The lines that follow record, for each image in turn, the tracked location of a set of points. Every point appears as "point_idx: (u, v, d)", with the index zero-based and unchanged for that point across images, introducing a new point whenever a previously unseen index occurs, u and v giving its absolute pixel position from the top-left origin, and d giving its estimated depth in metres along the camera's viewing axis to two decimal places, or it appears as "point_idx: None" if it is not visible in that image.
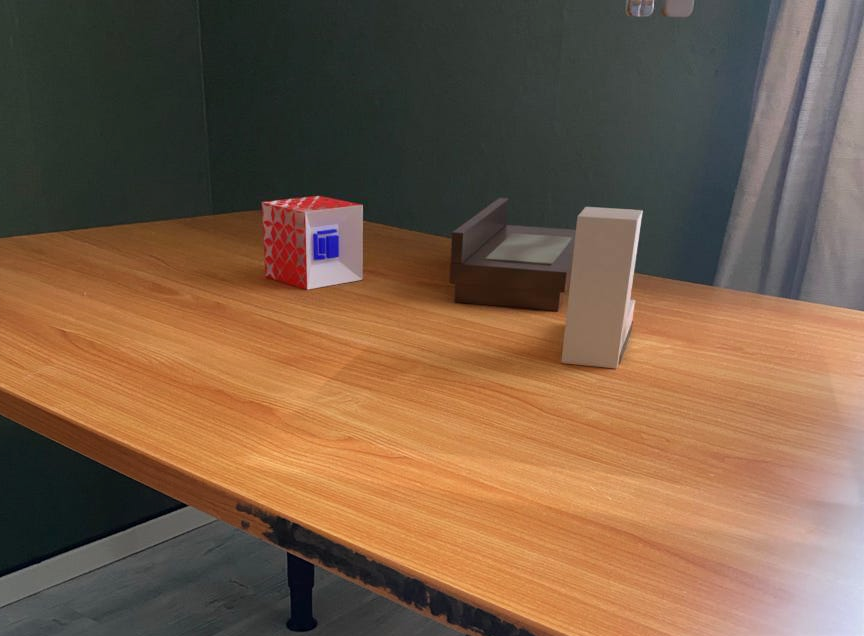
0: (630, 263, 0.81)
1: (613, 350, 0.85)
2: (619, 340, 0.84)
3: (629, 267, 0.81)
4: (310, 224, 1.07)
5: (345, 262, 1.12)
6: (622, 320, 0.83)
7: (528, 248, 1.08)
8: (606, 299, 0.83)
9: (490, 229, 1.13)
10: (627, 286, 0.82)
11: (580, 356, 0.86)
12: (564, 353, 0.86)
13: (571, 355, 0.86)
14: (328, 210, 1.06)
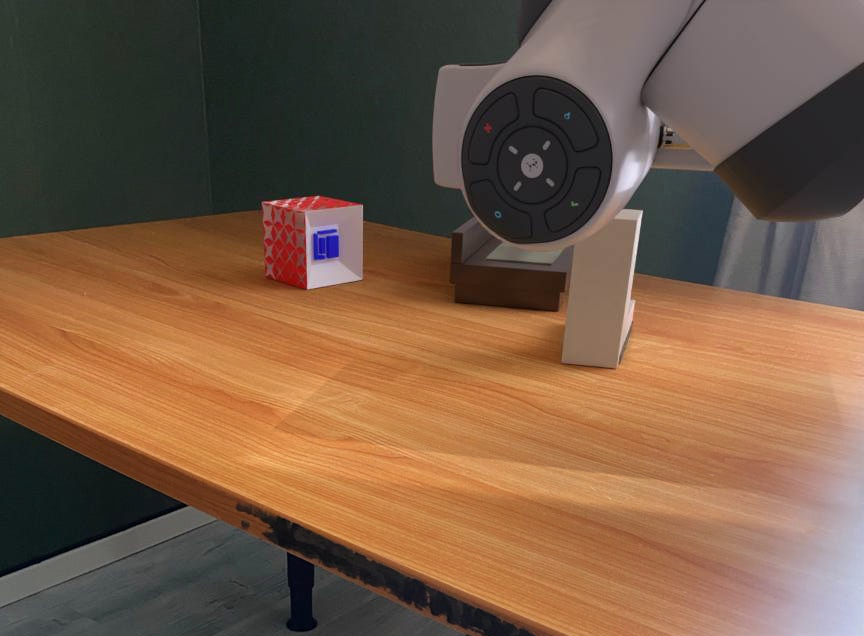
0: (630, 263, 0.81)
1: (613, 350, 0.85)
2: (619, 340, 0.84)
3: (629, 267, 0.81)
4: (310, 224, 1.07)
5: (346, 262, 1.12)
6: (622, 320, 0.83)
7: None
8: (606, 299, 0.83)
9: None
10: (627, 286, 0.82)
11: (580, 356, 0.86)
12: (564, 353, 0.86)
13: (571, 355, 0.86)
14: (328, 210, 1.06)
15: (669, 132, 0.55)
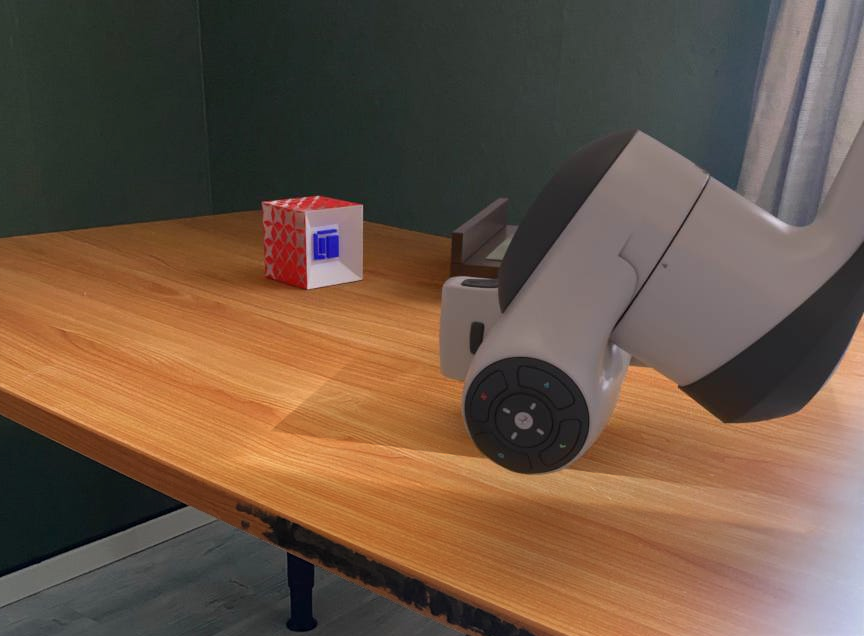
0: None
1: None
2: None
3: None
4: (310, 224, 1.07)
5: (346, 261, 1.12)
6: None
7: None
8: None
9: (490, 229, 1.13)
10: None
11: None
12: None
13: None
14: (328, 210, 1.06)
15: None
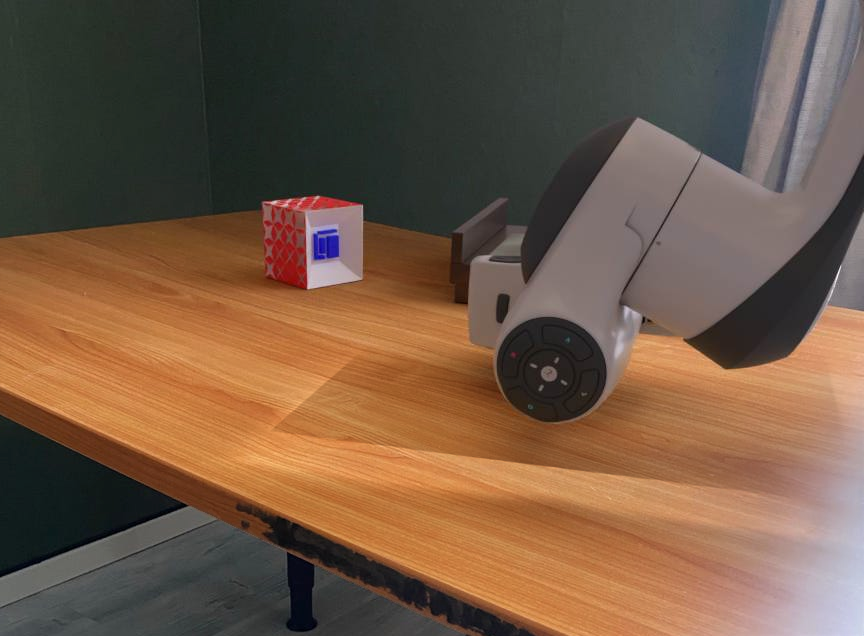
0: None
1: None
2: None
3: None
4: (310, 224, 1.07)
5: (346, 261, 1.12)
6: None
7: None
8: None
9: (490, 229, 1.13)
10: None
11: None
12: None
13: None
14: (328, 210, 1.06)
15: None
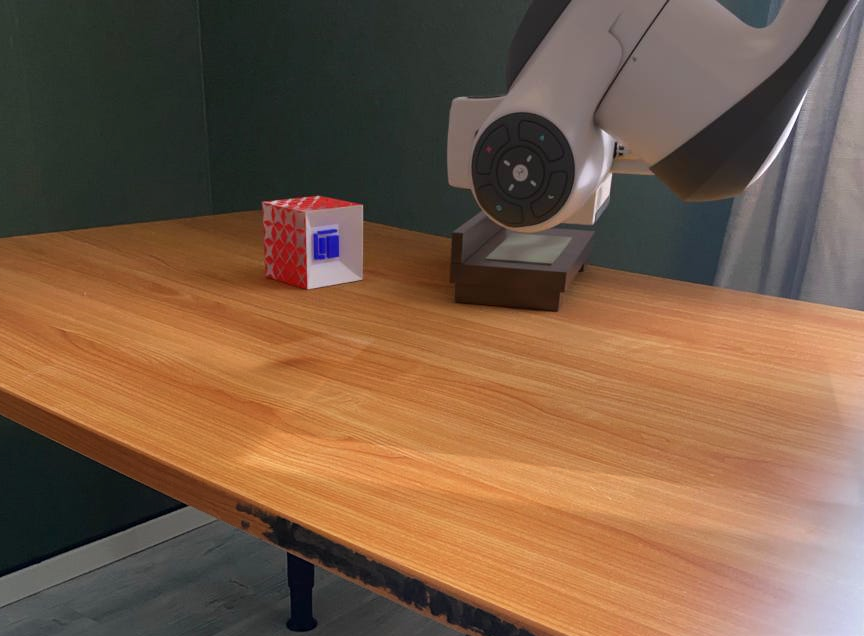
0: None
1: (588, 206, 0.88)
2: (594, 195, 0.87)
3: None
4: (310, 224, 1.07)
5: (346, 261, 1.12)
6: None
7: (528, 248, 1.08)
8: None
9: (490, 229, 1.13)
10: None
11: None
12: None
13: None
14: (328, 210, 1.06)
15: (621, 147, 0.76)
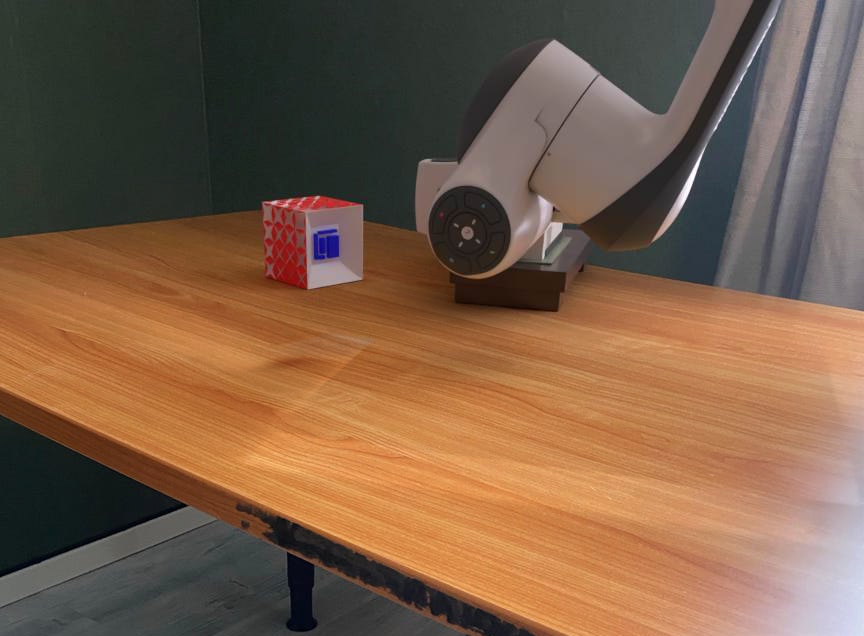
0: None
1: (538, 244, 1.02)
2: (543, 235, 1.02)
3: None
4: (310, 224, 1.07)
5: (346, 261, 1.12)
6: None
7: None
8: None
9: None
10: None
11: None
12: None
13: None
14: (328, 210, 1.06)
15: None
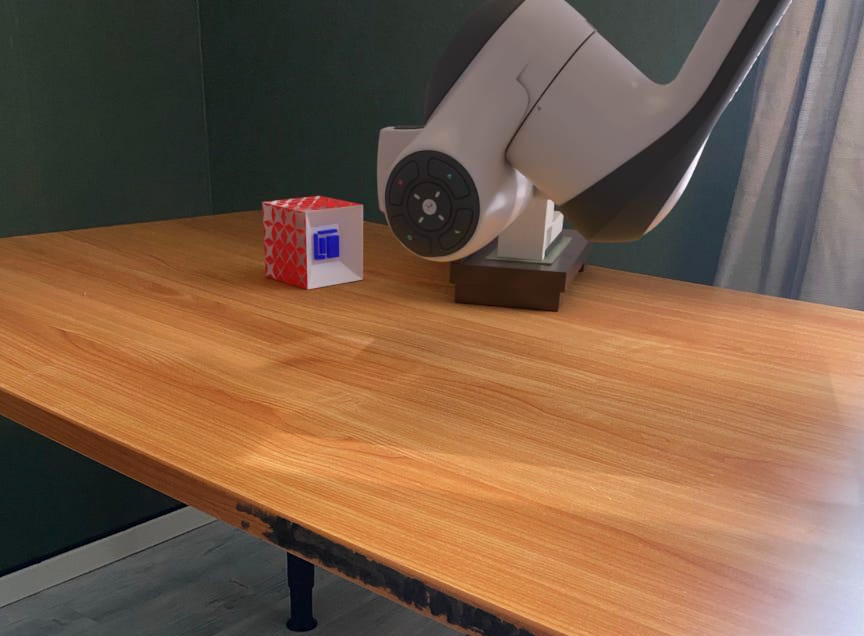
0: None
1: (538, 244, 1.02)
2: (543, 235, 1.02)
3: None
4: (310, 224, 1.07)
5: (346, 261, 1.12)
6: (545, 218, 1.01)
7: None
8: (531, 200, 1.00)
9: None
10: None
11: (512, 250, 1.03)
12: (499, 248, 1.04)
13: (504, 249, 1.04)
14: (328, 210, 1.06)
15: None
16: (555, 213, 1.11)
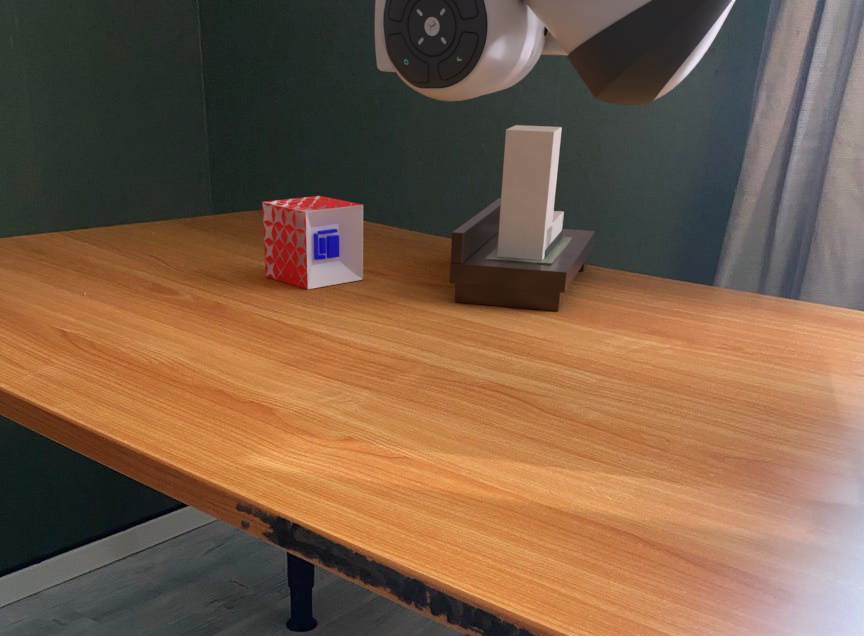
0: (550, 169, 0.98)
1: (538, 244, 1.02)
2: (543, 235, 1.02)
3: (549, 172, 0.99)
4: (310, 224, 1.07)
5: (346, 261, 1.12)
6: (545, 218, 1.01)
7: None
8: (531, 200, 1.00)
9: (490, 229, 1.13)
10: (548, 188, 1.00)
11: (512, 250, 1.03)
12: (499, 248, 1.04)
13: (504, 249, 1.04)
14: (328, 210, 1.06)
15: None
16: (555, 213, 1.11)
